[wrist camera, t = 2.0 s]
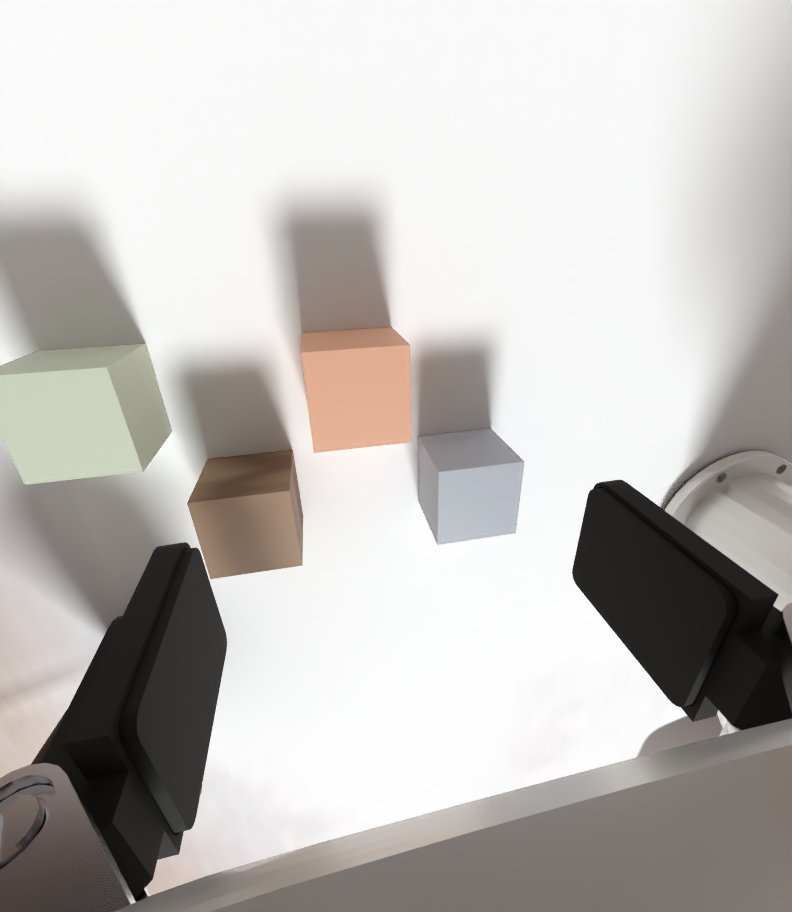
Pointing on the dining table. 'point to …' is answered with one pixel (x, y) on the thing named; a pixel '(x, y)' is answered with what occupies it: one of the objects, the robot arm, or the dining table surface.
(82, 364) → the sage cube
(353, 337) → the terracotta cube
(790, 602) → the robot arm
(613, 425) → the dining table surface
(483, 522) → the slate cube
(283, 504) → the walnut cube
